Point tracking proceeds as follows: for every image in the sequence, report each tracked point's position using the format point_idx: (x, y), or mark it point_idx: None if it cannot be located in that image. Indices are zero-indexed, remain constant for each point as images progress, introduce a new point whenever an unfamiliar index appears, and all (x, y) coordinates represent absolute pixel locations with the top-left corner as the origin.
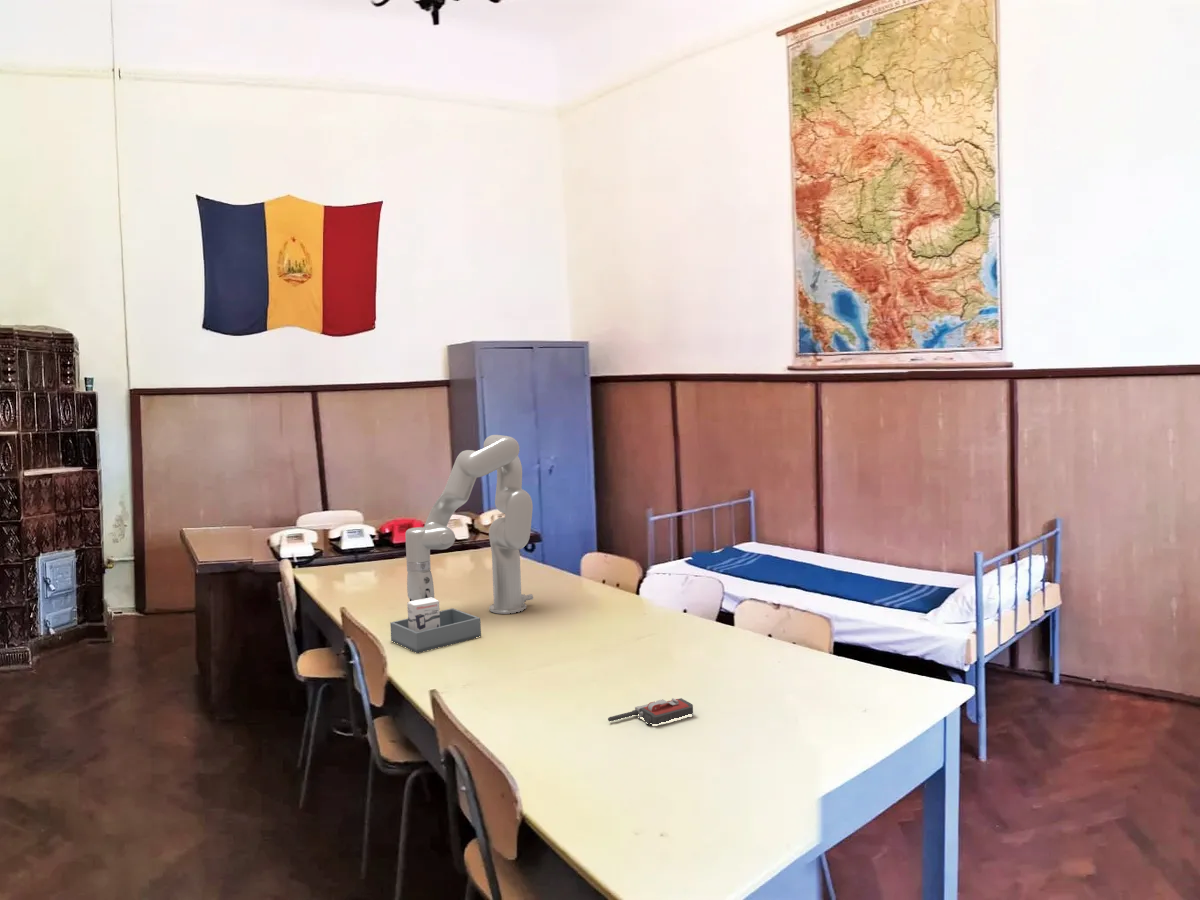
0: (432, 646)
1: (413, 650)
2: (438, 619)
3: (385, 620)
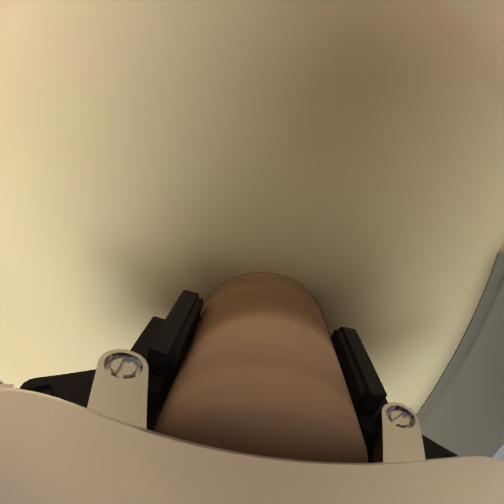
0: None
1: None
2: None
3: (21, 349)
